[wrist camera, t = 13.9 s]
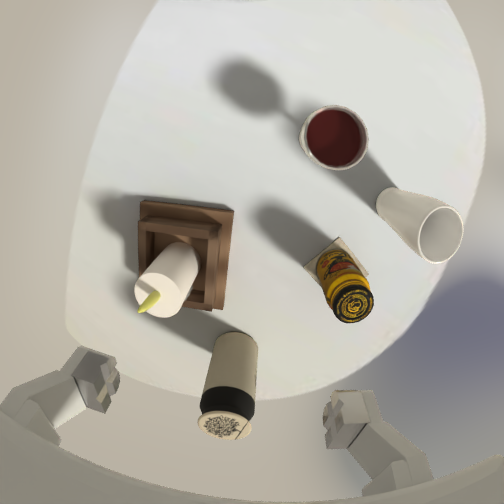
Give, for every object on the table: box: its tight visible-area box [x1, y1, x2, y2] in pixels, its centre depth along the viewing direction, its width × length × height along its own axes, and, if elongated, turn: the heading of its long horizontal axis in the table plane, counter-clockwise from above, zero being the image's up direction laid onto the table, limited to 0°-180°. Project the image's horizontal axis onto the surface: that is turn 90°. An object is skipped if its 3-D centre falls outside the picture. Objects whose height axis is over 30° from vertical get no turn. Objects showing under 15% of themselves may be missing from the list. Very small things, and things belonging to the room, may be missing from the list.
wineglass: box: [299, 105, 369, 171], centre depth 31 cm, size 7×7×12 cm
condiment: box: [303, 237, 374, 323], centre depth 38 cm, size 7×8×12 cm
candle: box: [135, 242, 201, 318], centre depth 36 cm, size 6×6×15 cm
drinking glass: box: [376, 187, 463, 264], centre depth 32 cm, size 7×7×15 cm
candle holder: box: [138, 200, 234, 312], centre depth 41 cm, size 16×14×5 cm
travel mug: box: [198, 332, 258, 440], centre depth 42 cm, size 8×8×18 cm
